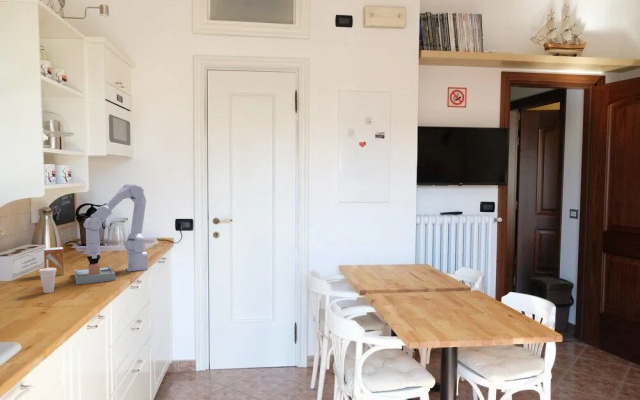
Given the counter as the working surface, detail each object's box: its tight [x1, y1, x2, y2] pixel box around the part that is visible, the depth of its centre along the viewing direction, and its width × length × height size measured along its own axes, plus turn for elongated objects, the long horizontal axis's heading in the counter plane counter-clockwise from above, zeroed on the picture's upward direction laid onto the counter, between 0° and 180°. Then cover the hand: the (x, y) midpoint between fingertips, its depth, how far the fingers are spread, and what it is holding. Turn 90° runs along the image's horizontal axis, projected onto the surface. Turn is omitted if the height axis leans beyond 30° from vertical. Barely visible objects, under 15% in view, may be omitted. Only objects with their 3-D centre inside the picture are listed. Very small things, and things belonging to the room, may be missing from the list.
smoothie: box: [38, 259, 57, 294], centre depth 186 cm, size 6×6×14 cm
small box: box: [43, 246, 65, 277], centre depth 216 cm, size 8×6×13 cm
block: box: [87, 262, 101, 275], centre depth 209 cm, size 4×4×4 cm
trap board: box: [73, 265, 116, 285], centre depth 211 cm, size 16×22×3 cm
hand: (93, 270), depth 212 cm, fingers closed
